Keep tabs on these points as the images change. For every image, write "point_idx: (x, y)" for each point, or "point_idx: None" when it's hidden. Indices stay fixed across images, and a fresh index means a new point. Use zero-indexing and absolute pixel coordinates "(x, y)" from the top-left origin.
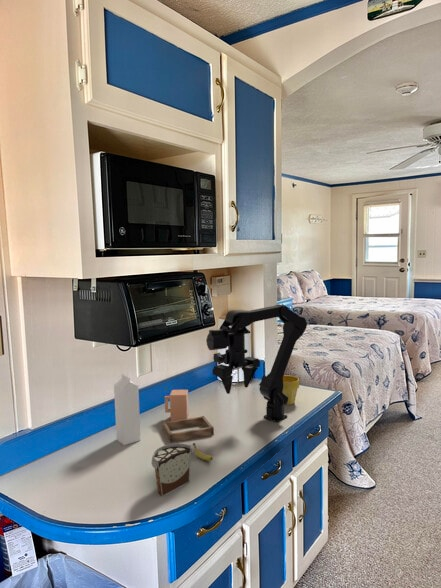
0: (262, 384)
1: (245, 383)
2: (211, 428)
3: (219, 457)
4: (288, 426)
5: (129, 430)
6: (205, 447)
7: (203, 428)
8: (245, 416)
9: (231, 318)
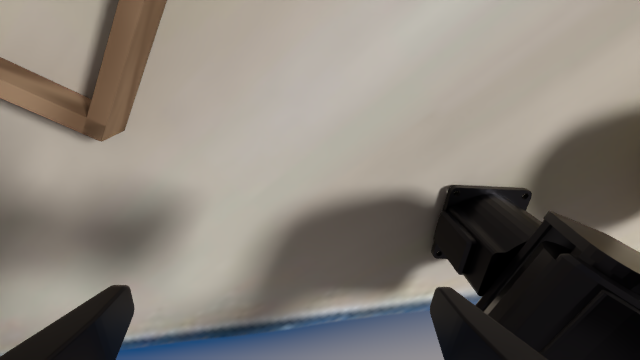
0: (594, 341)
1: (454, 337)
2: (89, 134)
3: (21, 283)
4: (416, 298)
5: None
6: (9, 192)
7: (37, 102)
8: (420, 104)
9: None
